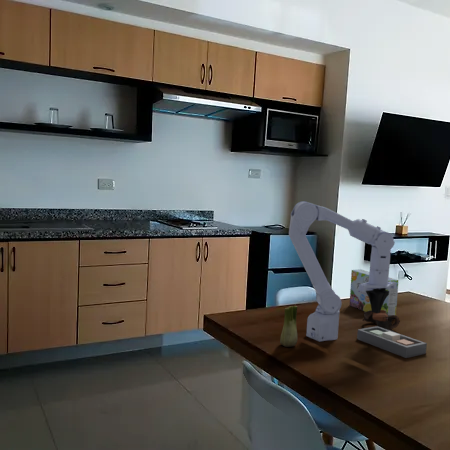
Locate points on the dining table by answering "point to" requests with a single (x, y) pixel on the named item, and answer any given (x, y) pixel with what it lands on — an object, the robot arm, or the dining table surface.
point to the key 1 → (376, 332)
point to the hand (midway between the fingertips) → (375, 312)
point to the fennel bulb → (289, 327)
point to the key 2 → (404, 342)
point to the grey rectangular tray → (392, 343)
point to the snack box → (362, 299)
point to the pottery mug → (381, 319)
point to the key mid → (391, 336)
